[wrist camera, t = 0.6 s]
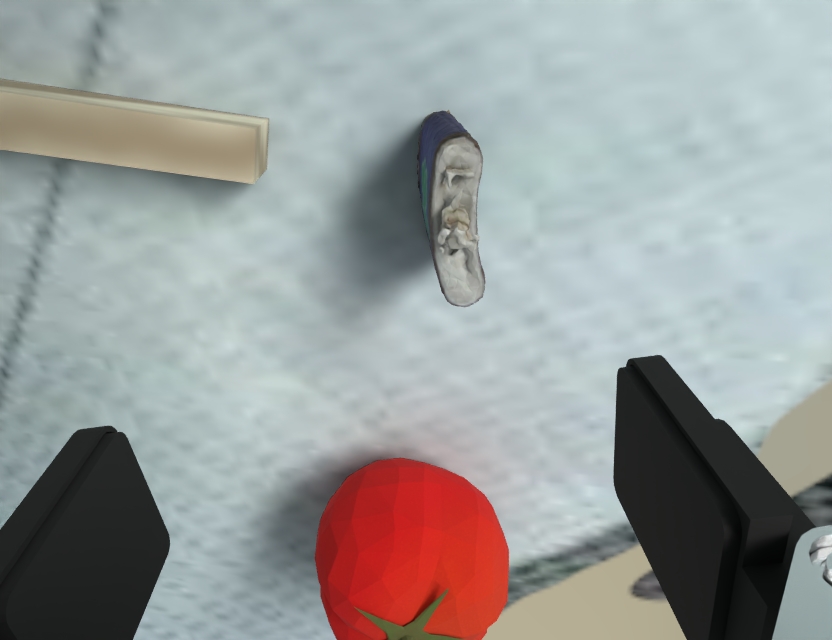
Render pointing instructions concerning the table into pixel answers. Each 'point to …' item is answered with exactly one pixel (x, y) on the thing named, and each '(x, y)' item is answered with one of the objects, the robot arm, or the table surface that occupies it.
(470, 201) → the clover hip flask
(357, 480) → the tomato
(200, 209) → the table surface
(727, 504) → the robot arm
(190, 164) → the wooden bar
